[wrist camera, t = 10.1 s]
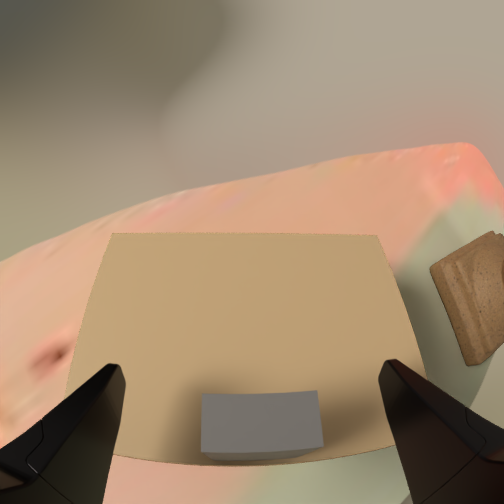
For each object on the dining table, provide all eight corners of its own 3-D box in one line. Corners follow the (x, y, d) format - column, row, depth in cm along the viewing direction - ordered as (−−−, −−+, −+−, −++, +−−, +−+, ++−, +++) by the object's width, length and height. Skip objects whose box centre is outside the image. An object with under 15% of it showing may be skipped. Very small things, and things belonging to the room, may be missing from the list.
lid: (427, 435, 10) (499, 400, 6) (69, 443, 9) (-2, 413, 5) (372, 246, 18) (397, 182, 15) (116, 245, 17) (94, 177, 14)
